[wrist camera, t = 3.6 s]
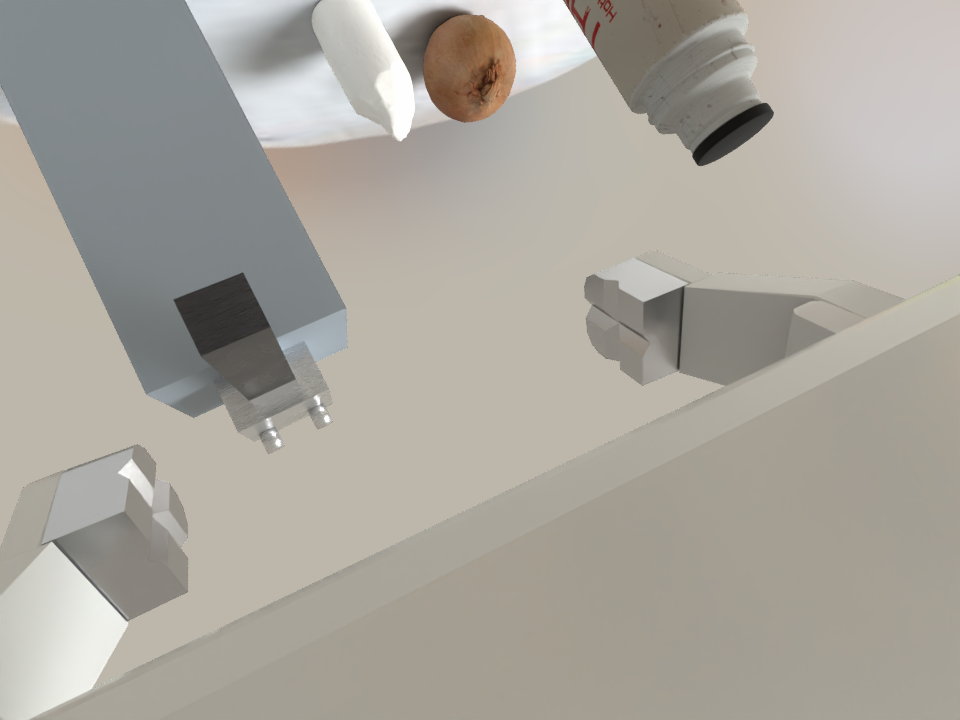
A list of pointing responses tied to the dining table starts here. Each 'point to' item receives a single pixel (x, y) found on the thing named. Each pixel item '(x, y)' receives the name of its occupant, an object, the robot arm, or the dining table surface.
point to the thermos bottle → (680, 67)
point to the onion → (469, 67)
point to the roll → (366, 63)
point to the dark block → (253, 362)
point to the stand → (160, 181)
